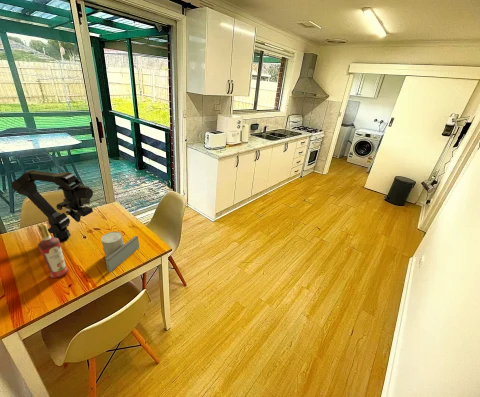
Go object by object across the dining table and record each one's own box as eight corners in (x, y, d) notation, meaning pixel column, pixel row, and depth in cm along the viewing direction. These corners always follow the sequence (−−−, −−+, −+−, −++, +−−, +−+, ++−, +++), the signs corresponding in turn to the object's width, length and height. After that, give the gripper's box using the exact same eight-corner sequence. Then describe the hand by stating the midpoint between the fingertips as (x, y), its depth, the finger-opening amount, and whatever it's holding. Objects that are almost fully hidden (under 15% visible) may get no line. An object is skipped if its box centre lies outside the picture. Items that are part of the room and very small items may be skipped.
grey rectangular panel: (108, 271, 111) (105, 259, 108) (137, 246, 129) (135, 235, 126) (110, 272, 111) (108, 260, 108) (139, 247, 129) (137, 236, 126)
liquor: (64, 266, 112) (48, 218, 99) (72, 272, 109) (56, 224, 96) (47, 275, 106) (27, 226, 93) (55, 282, 103) (35, 232, 90)
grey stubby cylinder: (105, 263, 116) (100, 244, 110) (105, 252, 123) (101, 233, 118) (125, 258, 120) (122, 240, 115) (124, 248, 127) (121, 230, 122)
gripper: (98, 194, 122) (104, 218, 129) (72, 187, 126) (78, 211, 133) (80, 202, 112) (86, 228, 119) (51, 195, 117) (60, 220, 124)
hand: (78, 221), depth 124 cm, fingers closed
